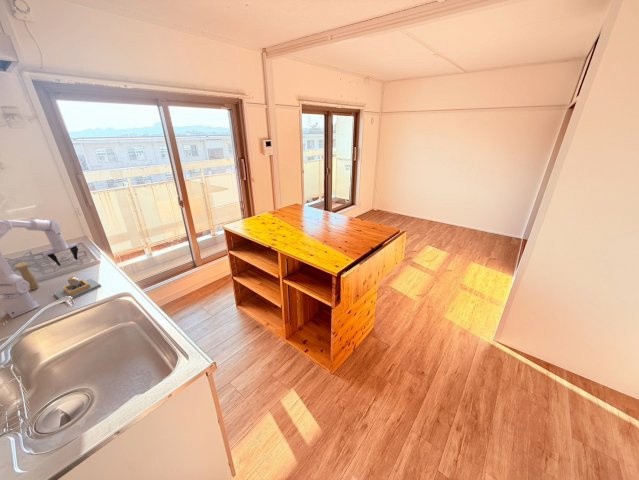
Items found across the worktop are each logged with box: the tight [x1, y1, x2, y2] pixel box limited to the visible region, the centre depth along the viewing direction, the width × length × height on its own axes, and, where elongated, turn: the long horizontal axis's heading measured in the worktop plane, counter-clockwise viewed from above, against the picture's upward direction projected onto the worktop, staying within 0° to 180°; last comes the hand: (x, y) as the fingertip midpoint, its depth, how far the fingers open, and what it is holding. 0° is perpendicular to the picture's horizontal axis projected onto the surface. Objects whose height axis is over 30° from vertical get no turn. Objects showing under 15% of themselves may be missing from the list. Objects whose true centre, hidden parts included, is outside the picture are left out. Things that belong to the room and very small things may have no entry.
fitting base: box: [53, 278, 102, 299], centre depth 134 cm, size 16×12×3 cm
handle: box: [13, 261, 40, 291], centre depth 134 cm, size 5×6×15 cm
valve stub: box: [67, 276, 82, 290], centre depth 133 cm, size 4×4×7 cm
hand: (68, 262), depth 144 cm, fingers open, 7 cm apart
